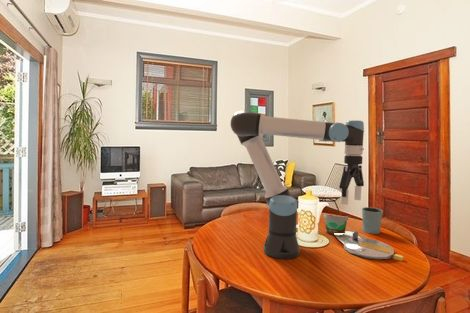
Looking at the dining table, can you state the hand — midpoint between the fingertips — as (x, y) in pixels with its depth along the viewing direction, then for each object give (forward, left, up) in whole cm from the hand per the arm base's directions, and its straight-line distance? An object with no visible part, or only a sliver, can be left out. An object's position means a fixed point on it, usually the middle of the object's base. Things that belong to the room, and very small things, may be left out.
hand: (351, 201), depth 131 cm
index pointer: (+20, +1, -21) cm, 29 cm away
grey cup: (-1, +31, -21) cm, 38 cm away
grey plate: (+8, +1, -21) cm, 22 cm away
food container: (-12, +11, -21) cm, 27 cm away
